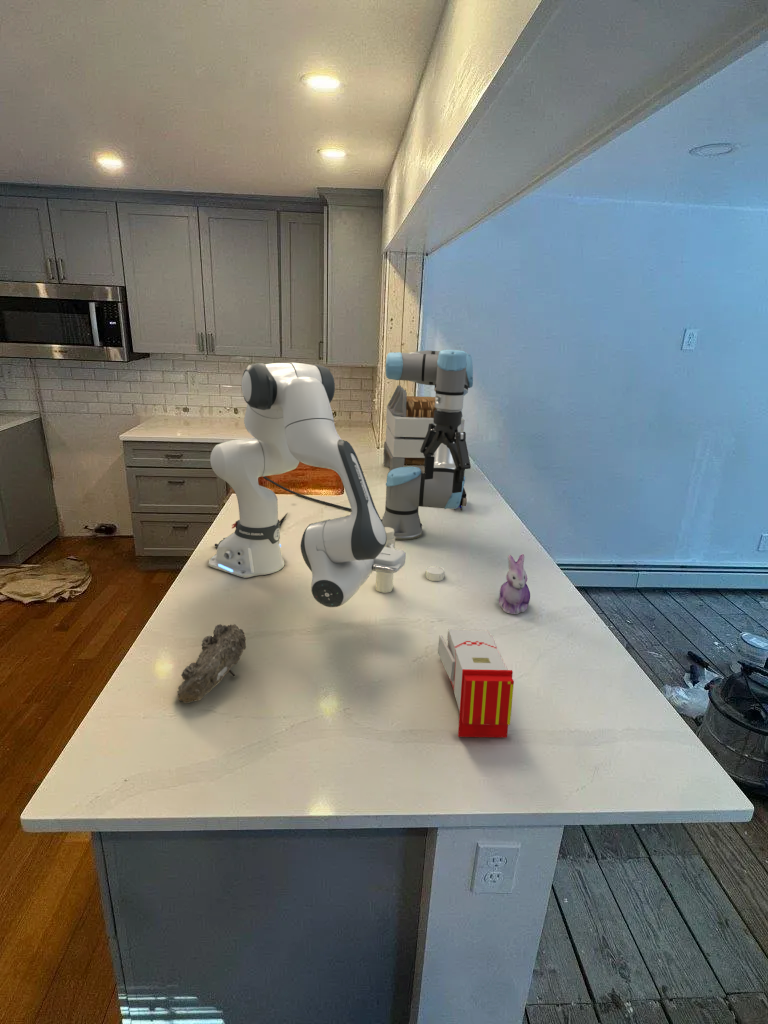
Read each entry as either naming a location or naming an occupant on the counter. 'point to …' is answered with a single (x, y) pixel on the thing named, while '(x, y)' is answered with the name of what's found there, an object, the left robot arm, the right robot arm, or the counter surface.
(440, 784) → the counter surface
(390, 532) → the jar
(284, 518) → the feather
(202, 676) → the fossil
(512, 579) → the figurine
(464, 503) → the figurine character
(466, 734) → the toy
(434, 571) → the lid
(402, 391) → the grey boxy container
